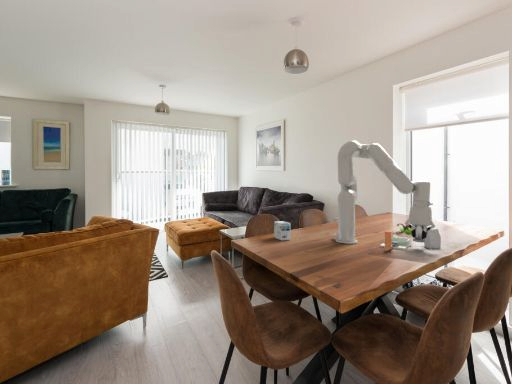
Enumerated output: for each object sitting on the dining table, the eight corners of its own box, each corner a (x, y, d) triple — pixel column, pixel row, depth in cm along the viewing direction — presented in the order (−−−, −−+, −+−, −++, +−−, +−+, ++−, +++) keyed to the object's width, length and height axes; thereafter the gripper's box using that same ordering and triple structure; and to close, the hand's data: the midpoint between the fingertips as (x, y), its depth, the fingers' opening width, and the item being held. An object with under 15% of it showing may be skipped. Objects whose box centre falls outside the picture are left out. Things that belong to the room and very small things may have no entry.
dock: (380, 246, 145) (380, 240, 145) (387, 242, 157) (387, 236, 157) (404, 250, 138) (404, 243, 137) (410, 245, 149) (410, 239, 149)
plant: (431, 241, 162) (431, 223, 161) (398, 240, 163) (398, 222, 163) (414, 235, 182) (414, 219, 181) (385, 235, 183) (385, 219, 183)
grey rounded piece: (411, 241, 140) (412, 224, 140) (414, 239, 144) (415, 223, 144) (423, 242, 136) (424, 225, 136) (425, 241, 140) (426, 224, 140)
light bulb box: (290, 240, 164) (291, 222, 163) (281, 240, 161) (281, 223, 161) (282, 236, 174) (283, 220, 173) (273, 237, 171) (273, 221, 171)
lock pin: (384, 248, 136) (384, 231, 135) (391, 244, 146) (391, 228, 146) (390, 249, 134) (391, 232, 133) (397, 245, 144) (397, 228, 144)
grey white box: (440, 248, 143) (440, 229, 142) (429, 248, 142) (430, 230, 141) (434, 246, 146) (435, 228, 146) (424, 246, 145) (424, 228, 145)
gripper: (440, 205, 137) (438, 239, 137) (404, 202, 148) (402, 234, 148) (438, 205, 131) (436, 242, 132) (401, 203, 142) (399, 236, 143)
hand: (418, 237), depth 140 cm, fingers closed on grey rounded piece, 4 cm apart
